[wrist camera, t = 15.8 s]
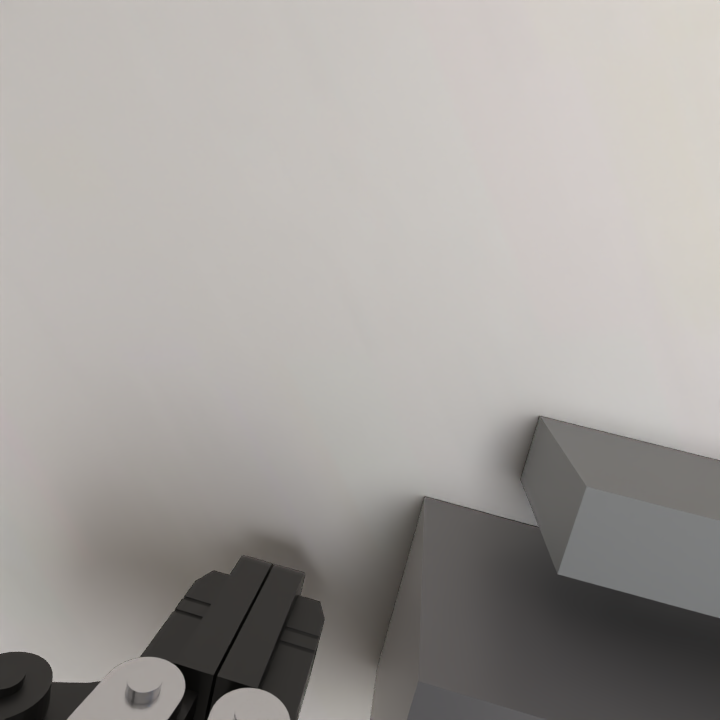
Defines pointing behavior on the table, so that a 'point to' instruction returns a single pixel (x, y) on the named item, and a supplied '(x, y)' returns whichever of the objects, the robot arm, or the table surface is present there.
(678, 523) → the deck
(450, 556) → the grey rectangular box
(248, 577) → the robot arm
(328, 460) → the table surface
